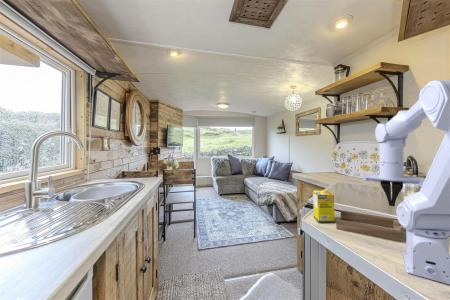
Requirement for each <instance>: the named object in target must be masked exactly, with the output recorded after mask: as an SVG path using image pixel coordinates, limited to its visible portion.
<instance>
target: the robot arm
mask: <svg viewBox="0 0 450 300" xmlns="http://www.w3.org/2000/svg"><path fill="white" fill-rule="evenodd" d="M427 118H428V119H429V121H430V123H431V125H432V126H433V127H434V128H435V129H438V130H441V131H443V132H444V135H443V136H444V137H443V139H442V141H441V143H440V146H439V147H438V150H437V152H436V154H435V155H434V158H433V161H432V163H431V164H430V165H431V166H430V168H429V170H428V172H427V174H426V177H425V178H424V177H423V176H422V177H421V176H410V175H405V173H404V172H405V171H404V170H405V169H404V148H405V147H406V145H407V139H408V137H409V134H410V133H412V132H414V131H416V129H418V128H420V127H421V125H422V123H423V122H422V121H423V120H425V119H427ZM374 136H375V139H376V142H378V147H379V148H378V150H379V152H378V153H379V158H378V159H379V161H378V162H379V174H377V173H376V174H371V173H370V174H369V173H367V174H365V173H364V174H362V181H363V182H367V181H368V182H379V183H380V186H381V188H382V190H383V191H384V194H385V196H386V199H387V202H388V206H390V207H395V206H396V202H397V201H396V200H397V199H398V196H399V194H400V193H401V191H402V190H403V188H404V184H411V185H420V186H421V187H420V189H419V191H417V192H415V193H412V194H409V195H407V196H405V197H404V198H403V201H402V202H400V203H399V204H397V207H396V210H395V211H396V212H395V213H396V219H398V221H399V223H400V226H402V228H404V229H405V230H406V231H405V234H406V235H405V240H406V241H405V242H406V244H405V246H406V247H405V248H406V251H403V252H402V253H403V259H404V267H405V271H406V274H411V275H414V276H417V277H421V278H426V279H428V280H432V281H436V282H440V283H443V284H447V285H450V79H442V80H439V79H436V80H435V79H434V80H431V81H429V82H428V83H426V85H424V87H423V88H421V89H420V92H419V95H418V100H416V102H415V103H414V104H413V105H412V106H411V107H410V108H409V109H407V110H398V112H397V114H396V115H395V116H393V117H391V119H389V120H388V121H387V122H386V123H378V124H377V125H376V127H375V129H374Z"/></svg>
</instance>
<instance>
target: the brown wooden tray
mask: <svg viewBox="0 0 450 300" xmlns="http://www.w3.org/2000/svg"><path fill="white" fill-rule="evenodd" d="M335 223H336V230H339V231H345V232H349V233H354V234H359V235H363V236H369V237H374V238H377V239H381V240H386V241H387V240H388V241H393V242H395V243H396V242H397V243H402V230H401V224H400V223H399V221H398V218H394V217H393V218H392V217H387V216H379V215H373V214H367V213H361V212H360V213H359V212H355V211H349V210H348V211H347V210H340V219H338V218H337V219H336V220H335Z"/></svg>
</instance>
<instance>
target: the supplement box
mask: <svg viewBox="0 0 450 300" xmlns="http://www.w3.org/2000/svg"><path fill="white" fill-rule="evenodd" d="M312 200H313V202H312V203H313V204H312V205H313V218H314V219H315V221H316V222H317V224H334V223H336V220H335V194H334V193H332V192H331V191H329V190H313V191H312Z"/></svg>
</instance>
